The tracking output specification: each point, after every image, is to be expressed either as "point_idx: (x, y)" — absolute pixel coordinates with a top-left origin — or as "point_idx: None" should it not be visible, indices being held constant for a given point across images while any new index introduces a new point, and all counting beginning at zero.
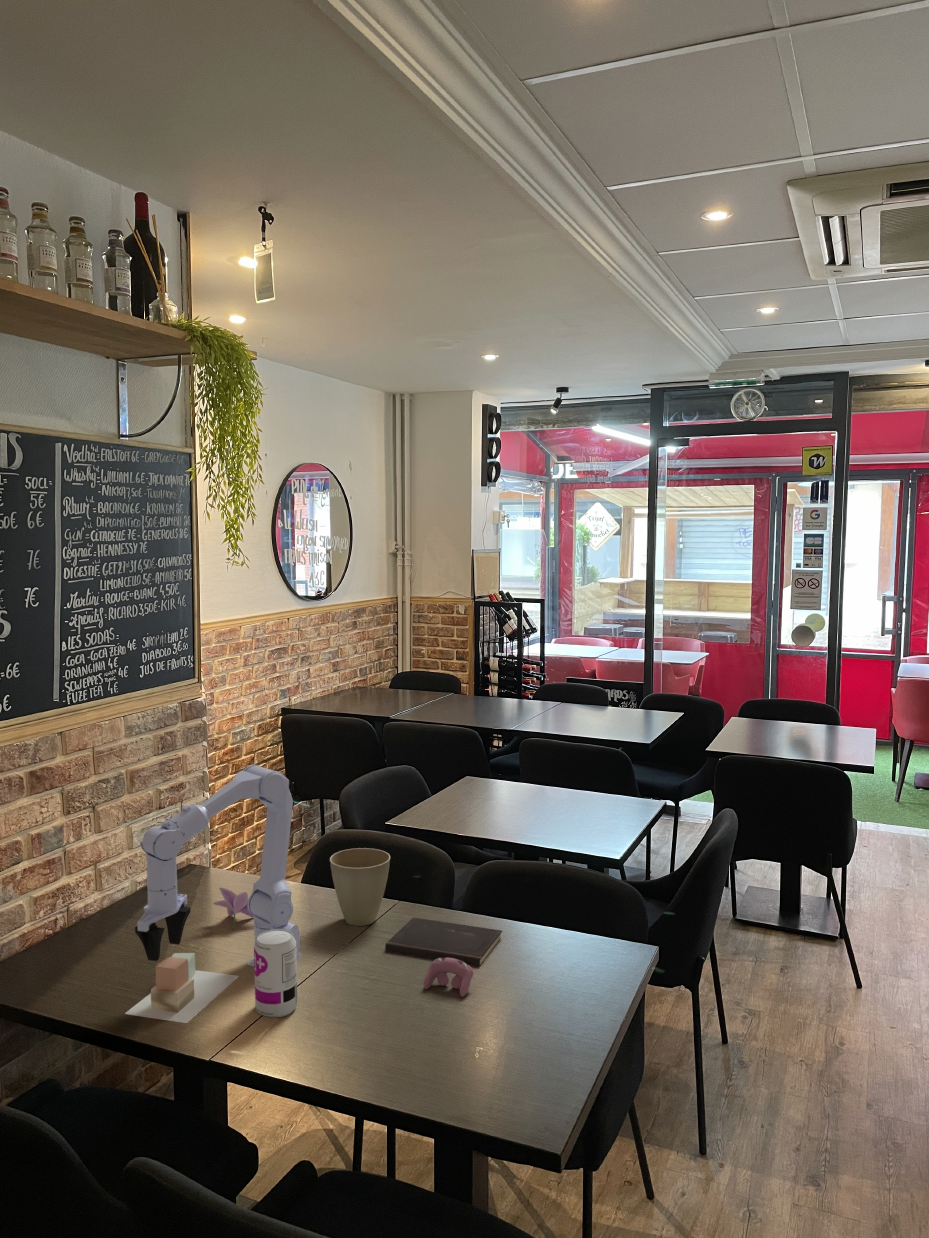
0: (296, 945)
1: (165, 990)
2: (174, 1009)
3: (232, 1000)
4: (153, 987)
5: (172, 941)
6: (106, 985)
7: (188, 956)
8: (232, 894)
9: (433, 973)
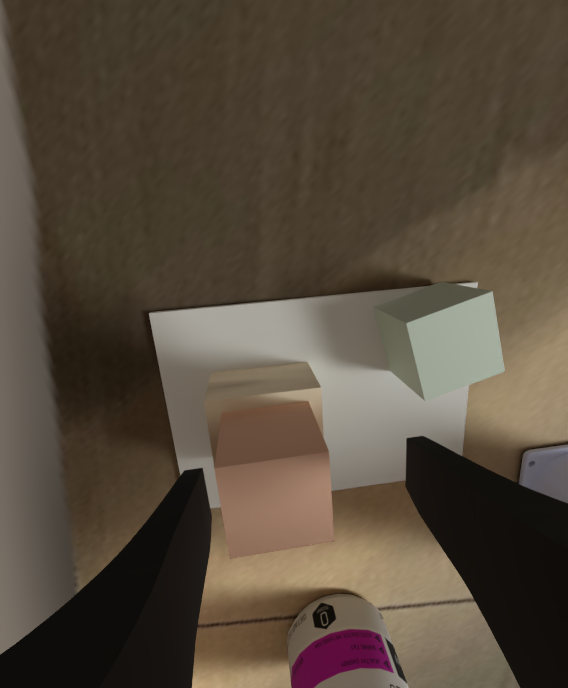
0: None
1: None
2: None
3: (340, 524)
4: (222, 399)
5: (412, 462)
6: (303, 70)
7: (472, 367)
8: None
9: None
